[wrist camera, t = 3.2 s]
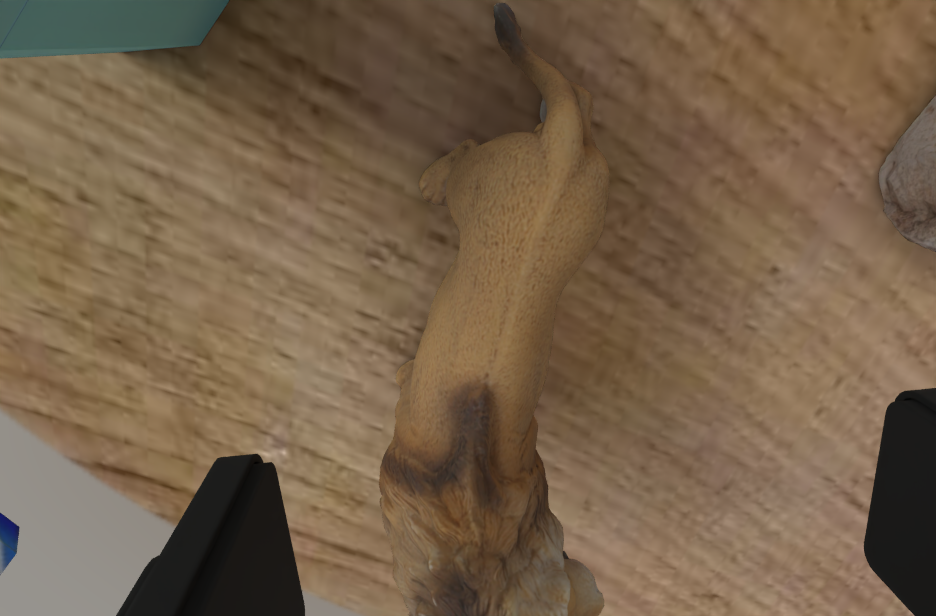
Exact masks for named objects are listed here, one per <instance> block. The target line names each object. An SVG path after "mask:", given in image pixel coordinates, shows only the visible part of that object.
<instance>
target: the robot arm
mask: <svg viewBox="0 0 936 616" xmlns="http://www.w3.org/2000/svg"><path fill="white" fill-rule="evenodd" d="M864 552H865V556H866V559H867V561H868V563H869V565H870V567H871V568H872V570H873V571H874V572H875V573H876V574H877V575H878V577H879V578H880V579H881V580H882V581H883V582H884V583H885V584H886V585H887V586H888V587H889V588H890V590H891V591H892V592H893V593H894V594H895V595H896V596H897V597H898V598H899V599H900V600H901V601H902V603H903V604H904V605H905V606H906V607H907V608H908V609H909V610H910V611H911V612H912V613H913V614H914V615H915V616H936V388H931V389H921V390H911V391H904V392H902V393H900V394H899V395H898V396H897V398H896V399H895V402H893V403H891V404H890V405H889V406H888V407H887V410H886V414H885V420H884V426H883V432H882V438H881V444H880V450H879V456H878V462H877V468H876V474H875V480H874V487H873V493H872V499H871V505H870V511H869V517H868V523H867V529H866V535H865V541H864ZM116 616H305V606H304V600H303V595H302V590H301V585H300V581H299V576H298V571H297V566H296V562H295V557H294V552H293V547H292V543H291V538H290V533H289V528H288V524H287V519H286V514H285V509H284V505H283V500H282V495H281V491H280V486H279V481H278V476H277V472H276V468H275V466H274V464H273V463H272V462H269V463H263V460H262V459H261V457H260V455H258V454H250V455H240V456H230V457H221V458H218V459H217V460H216V461H215V462H214V464H213V465H212V467H211V469H210V471H209V472H208V474H207V476H206V477H205V479H204V481H203V482H202V484H201V486H200V488H199V489H198V491H197V493H196V494H195V496H194V498H193V499H192V501H191V503H190V505H189V506H188V508H187V510H186V511H185V513H184V515H183V516H182V518H181V520H180V522H179V523H178V525H177V527H176V528H175V530H174V532H173V533H172V535H171V537H170V539H169V540H168V542H167V544H166V545H165V547H164V549H163V550H162V552H161V554H160V555H159V556H157V557H155V558H153V559H152V560H151V561H150V562H149V564H148V565H147V566H146V567H145V569H144V571H143V572H142V574H141V576H140V577H139V579H138V580H137V582H136V584H135V585H134V587H133V589H132V591H131V592H130V594H129V595H128V597H127V599H126V600H125V602H124V604H123V606H122V607H121V608H120V610H119V612H118V613H117V615H116Z"/></svg>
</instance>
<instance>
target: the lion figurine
mask: <svg viewBox="0 0 936 616" xmlns="http://www.w3.org/2000/svg"><path fill="white" fill-rule="evenodd" d="M494 18H495V31H496V35H497V38H498V42H499V44H500V46H501V47H502V49H503V50H504V51H505V52H506V53H507V54H508V56H509V57H510V59H511V60H512V62H513V63H514V64H515V65H517V66H518V67H519V68H520V69H521V70H522V71H523V72H524V73H525V74H526V75H527V76H528V77H529V78H530V79H531V81H532V82H533V83H534V85H535V86H536V87H537V89H538V90H539V91H540V93H541V95H542V97H543V101H542V103H541V109H540V119H541V121H542V123H541V124H539V125H538V126H537V127H536V128H535V130H534V131H533V133H530V132H512V133H508V134H504V135H501V136H498V137H497V138H495V139H493V140H491V141H489V142H486V143H484V144H482V145H480V146H479V144H478V143H477V142H476V141H474V140H472V139H468V140H465V141H464V142H462V143H461V144H460V145H459V146H458V147H457V148H455V149H454V150H453V151H452V152H450V153H449V154H448V155H446V156H444V157H442V158H440V159H438V160H436V161H435V162H434V163H432V164H431V165H430V166H429V167H428V168H427V169H426V170H425V172H424V173H423V175H422V176H421V178H420V181H419V189H420V191H421V193H422V196H423V198H424V199H425V200H427V201H428V202H430V203H432V204H436V205H442V206H448V207H449V209H450V212H451V216H452V219H453V221H454V223H455V224H456V226H457V227H458V228H459V233H460V249H459V252H458V254H457V256H456V259H455V261H454V263H453V264H452V266H451V268H450V269H449V271H448V273H447V275H446V276H445V278H444V280H443V282H442V284H441V285H440V287H439V289H438V291H437V293H436V296H435V298H434V300H433V302H432V306H431V309H430V312H429V316H428V321H427V325H426V328H425V331H424V333H423V335H422V338H421V341H420V344H419V347H418V350H417V354H416V357H415V359H413V360H410V361H408V362H407V363H405V364H403V365H402V366H401V367H400V368H399V370H398V372H397V375H396V382H397V384H398V385H399V386H400V388H401V389H402V390H401V394H400V399H399V401H398V403H397V405H396V408H395V417H396V424H395V432H394V438H393V440H392V442H391V444H390V445H389V447H388V449H387V450H386V452H385V454H384V457H383V460H382V464H381V467H380V479H379V487H380V491H381V494H382V497H381V499H380V506H381V509H382V517H383V522H384V528H385V530H386V532H387V535H388V537H389V540H390V543H391V547H392V554H393V560H394V569H393V577H394V580H395V582H396V584H397V586H398V588H399V590H400V592H401V593H402V594H403V598H404V602H405V604H406V606H407V608H408V610H409V616H598V615H599V614H600V613H601V611H602V609H603V607H604V599H603V595H602V593H601V592H600V591H599V590H598V589H597V586H596V582H595V579H594V576H593V574H592V573H591V572H590V570H589V569H588V568H587V567H586V566H585V565H584V564H582V563H581V562H579V561H578V560H575V559H569V558H568V556H567V554H566V553H565V552H564V551H563V544H564V535H563V527H562V525H561V523H560V522H559V520H558V519H557V517H556V516H555V515H554V514H553V513H552V512H551V511H550V509H549V505H548V484H547V481H546V477H545V469H544V466H543V462H542V460H541V458H540V456H539V454H538V452H537V450H536V441H537V431H538V425H537V421H536V419H535V417H534V415H533V413H534V411H535V408H536V405H537V403H538V400H539V397H540V395H541V392H542V389H543V386H544V382H545V379H546V374H547V369H548V364H549V359H550V353H551V348H552V338H553V329H554V319H555V310H556V306H557V302H558V299H559V296H560V294H561V292H562V290H563V288H564V287H565V285H566V284H567V282H568V281H569V279H570V278H571V277H572V276H573V274H574V273H575V272H576V270H577V269H578V268H579V266H580V265H581V264H582V262H583V261H584V260H585V258H586V257H587V256H588V254H589V253H590V251H591V250H592V249H593V247H594V246H595V244H596V243H597V241H598V239H599V238H600V236H601V233H602V230H603V227H604V222H605V215H606V208H607V202H608V194H609V168H608V165H607V162H606V159H605V157H604V156H603V154H602V153H601V152H600V150H598V149H597V147H596V145H595V143H594V140H593V138H592V134H591V117H592V113H593V100H592V97H591V94H590V93H589V92H588V91H587V90H585V89H584V88H582V87H581V86H579V85H578V84H576V83H574V82H571V81H568V80H566V78H565V77H564V76H563V75H562V74H561V73H560V72H559V71H558V70H557V69H556V68H555V67H553V66H552V65H551V64H549V63H547V62H545V61H544V60H542V59H541V58H540V57H539V56H537V55H536V54H535V52H534V51H533V50H532V49H531V48H530V47H529V46H528V45H527V44H526V43H525V42H524V40H523V39H522V37H521V29H520V27H519V25H518V24H517V22H516V19H515V15H514V13H513V11H512V10H511V8H510V7H509V6H508V5H507V4H506V3H497V4H496V5H495V6H494Z"/></svg>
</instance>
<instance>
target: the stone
mask: <svg viewBox="0 0 936 616" xmlns="http://www.w3.org/2000/svg"><path fill="white" fill-rule="evenodd" d="M879 184H880V188H881V192H882V195H883V200H884V205H885V208H884V212H885V213H886V214H887V217H888V218H889V219H890V220H891V221H892V223H893V225H894V226H895V227H896V228H897V230H898V231H899V232H900V233H901V234H902V235H903V236H904V237H905V238H906V239H907V240H909V241H911V242H914V243H917V244H919V245H921V246H923V247H925V248H928V249H930V250H932V251H935V252H936V95H935V97H934V98H933V99H932V100H931V102H930V103H929V104H928V105H927V107H926V108H925V109H924V110H923V111H922V112H921V114H920V115H919V116H918V117H917V118H916V120H915V121H914V122H913V123H912V124H911V126H910V127H909V128H908V129H907V131H906V132H905V133H904V134H903V135H902V136H901V137H900V139H899V140H898V142H897V143H896V145H895V147H894V149H893V151H892V152H891V153H890V154H889V155H888V156H887V158H886V161H885V163H884V164H883V165H882V167H881V168H880V172H879Z"/></svg>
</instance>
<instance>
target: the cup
mask: <svg viewBox="0 0 936 616" xmlns="http://www.w3.org/2000/svg"><path fill="white" fill-rule="evenodd" d="M229 1H230V0H0V58H17V57H37V56H56V55H76V54H96V53H115V52H129V51H140V50H151V49H163V48H174V47H185V46H197V45H200V44H201V43H202V41H203V40H204V38H205V37H206V35H207V34H208V32H209V31H210V29H211V28H212V26H213V25H214V23H215V22H216V20H217V19H218V17H219V16H220V14H221V13H222V11H223V10H224V8H225V7H226V5H227V4H228V2H229ZM18 536H19V526H17V525H16V524H14V523H13V522H12V521H11V520H9V519H8V518H7V517H5V516H4V515H3V514H1V513H0V575H1V574H2V572H3V571H4V570H5V568H6V567H7V565H8V564H9V563H10V561H11V560H12V559H13V557H14V556H15V554H16V553H17V545H18Z"/></svg>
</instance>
